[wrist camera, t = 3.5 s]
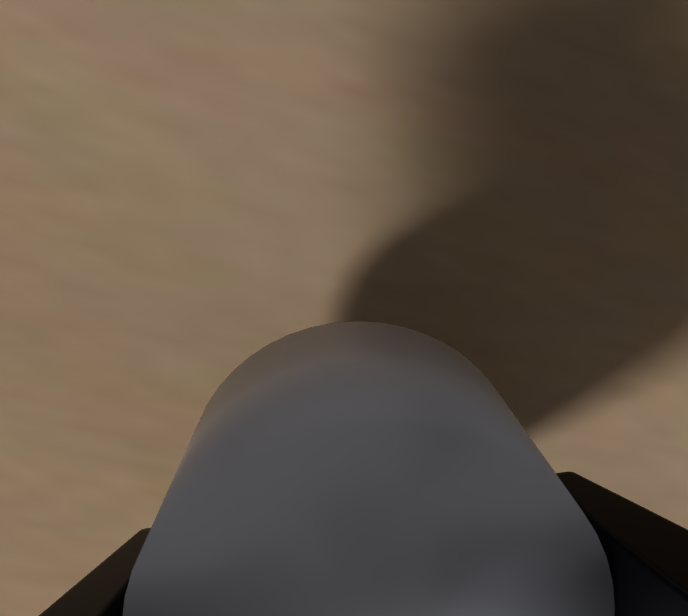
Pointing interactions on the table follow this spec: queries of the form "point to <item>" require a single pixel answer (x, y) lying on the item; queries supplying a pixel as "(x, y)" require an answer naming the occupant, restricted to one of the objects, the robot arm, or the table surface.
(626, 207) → the table surface
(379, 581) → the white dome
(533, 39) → the table surface
